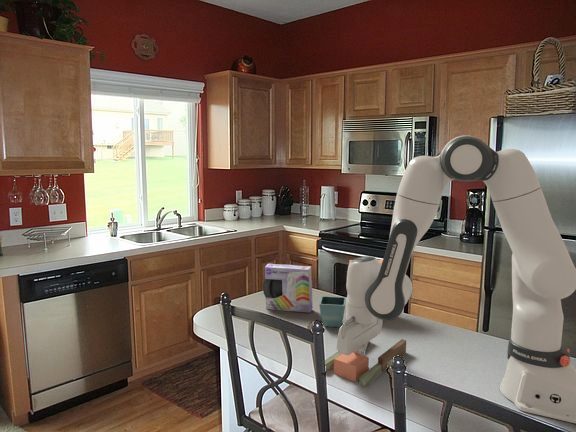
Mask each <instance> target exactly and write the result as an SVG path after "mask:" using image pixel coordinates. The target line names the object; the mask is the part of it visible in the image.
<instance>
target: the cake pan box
mask: <svg viewBox="0 0 576 432" xmlns="http://www.w3.org/2000/svg"><path fill="white" fill-rule="evenodd" d="M312 271H313V270H312V266H308V265H307V266H306V265H296V264H282V263H281V264H277V263H276V264H275V263H267V264H266V265H265V266H264V280H263V283H262V291H263V295H264V297H265V309H266V310H273V311H275V310H276V311H287V312H295V313H296V312H298V313H311V312H312V311H313V309H314V308H313V307H314V306H313V277H312V276H313V275H312Z"/></svg>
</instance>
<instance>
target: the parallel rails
mask: <svg viewBox="0 0 576 432" xmlns="http://www.w3.org/2000/svg"><path fill="white" fill-rule="evenodd" d="M370 341H371V340H370ZM370 341H369V342H367V344H369V343H370ZM406 352H407V340H406V339H403V338H402V339H400V340H399V341H398V342H396V343H394V345H392V346H391V347H390V348H388V349H387V350H386V351H384V352H383V353H382V354H381V355H380V356H378V357H377V363H376V364H375V365H373V366H372V367H370V368H368V371H367V372H365V373H364V374H363V375H362V376H360V377H359V379H358V381H359V384H358V386H359V387H361V388H363V389H364V388H366V387H367V386H369V385H370V384H371V383H372V382H373V381H374V380H376V378H378V377H379V376H381V374H382V373H384V372H385V371H386V370H387V369H388V368H387V362H388V361H389V360H391V359H393V357H394V356H397V355H399V356H401V357H403V356H404V355H405V354H406ZM339 355H341V353H339V352H338V351H337V352H335V353H333V354H332V355H330V356H329V357H328V358H326V359H324V360H325V366H326V373H327V372H329V371H330V370H331V369H334V359H335V358H336V357H338V356H339ZM386 368H387V369H386Z"/></svg>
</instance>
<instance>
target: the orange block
mask: <svg viewBox="0 0 576 432" xmlns="http://www.w3.org/2000/svg"><path fill="white" fill-rule="evenodd" d="M369 361H370V357H369V356H363V355H360V354H357V353H354V352H353V353H351V354H350V355H344V354H341V355H339V356H338V357H336V358H335V359H334V367H333V375H337V376H340V377H342V378H344V379H348V380H350V381H353V382H357V381H359V377H360V376H362V375H363V374H364V373H365V372H367V371H368V370H369V364H370V363H369Z"/></svg>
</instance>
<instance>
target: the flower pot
mask: <svg viewBox="0 0 576 432" xmlns="http://www.w3.org/2000/svg"><path fill="white" fill-rule="evenodd" d="M346 298H347V297H344V296H325V295H322V296H321V299H320V302H319V312H320V318H321V321H322V323H323V325H324V326H325V327H331V328H332V327H334V328H335V327H336V328H340V327H341V326H342V324H343V321H344V314H345V311H346Z"/></svg>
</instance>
